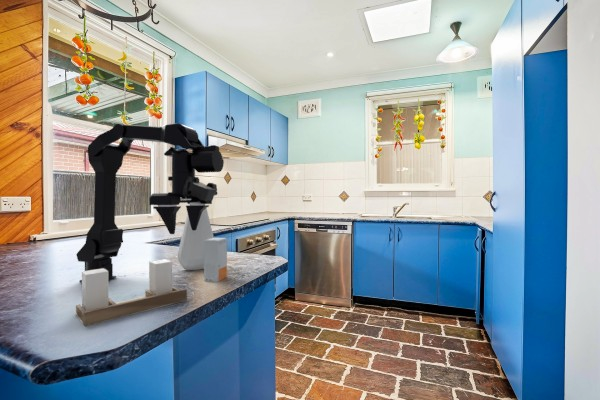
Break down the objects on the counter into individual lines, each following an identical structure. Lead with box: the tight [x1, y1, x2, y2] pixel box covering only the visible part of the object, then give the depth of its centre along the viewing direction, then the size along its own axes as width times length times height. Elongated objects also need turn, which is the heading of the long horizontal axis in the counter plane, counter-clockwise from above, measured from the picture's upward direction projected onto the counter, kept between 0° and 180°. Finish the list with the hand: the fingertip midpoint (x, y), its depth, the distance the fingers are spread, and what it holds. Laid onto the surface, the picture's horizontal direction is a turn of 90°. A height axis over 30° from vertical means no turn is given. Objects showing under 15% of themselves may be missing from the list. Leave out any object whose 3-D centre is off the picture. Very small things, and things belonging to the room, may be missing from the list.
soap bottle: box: [177, 181, 215, 271], centre depth 97 cm, size 13×10×29 cm
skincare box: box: [203, 237, 228, 283], centre depth 85 cm, size 6×4×12 cm
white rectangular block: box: [148, 258, 173, 295], centre depth 70 cm, size 4×4×8 cm
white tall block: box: [81, 268, 110, 311], centre depth 61 cm, size 4×4×8 cm
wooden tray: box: [74, 285, 188, 327], centre depth 64 cm, size 10×19×3 cm, turn 136°
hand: (183, 232), depth 78 cm, fingers open, 9 cm apart
